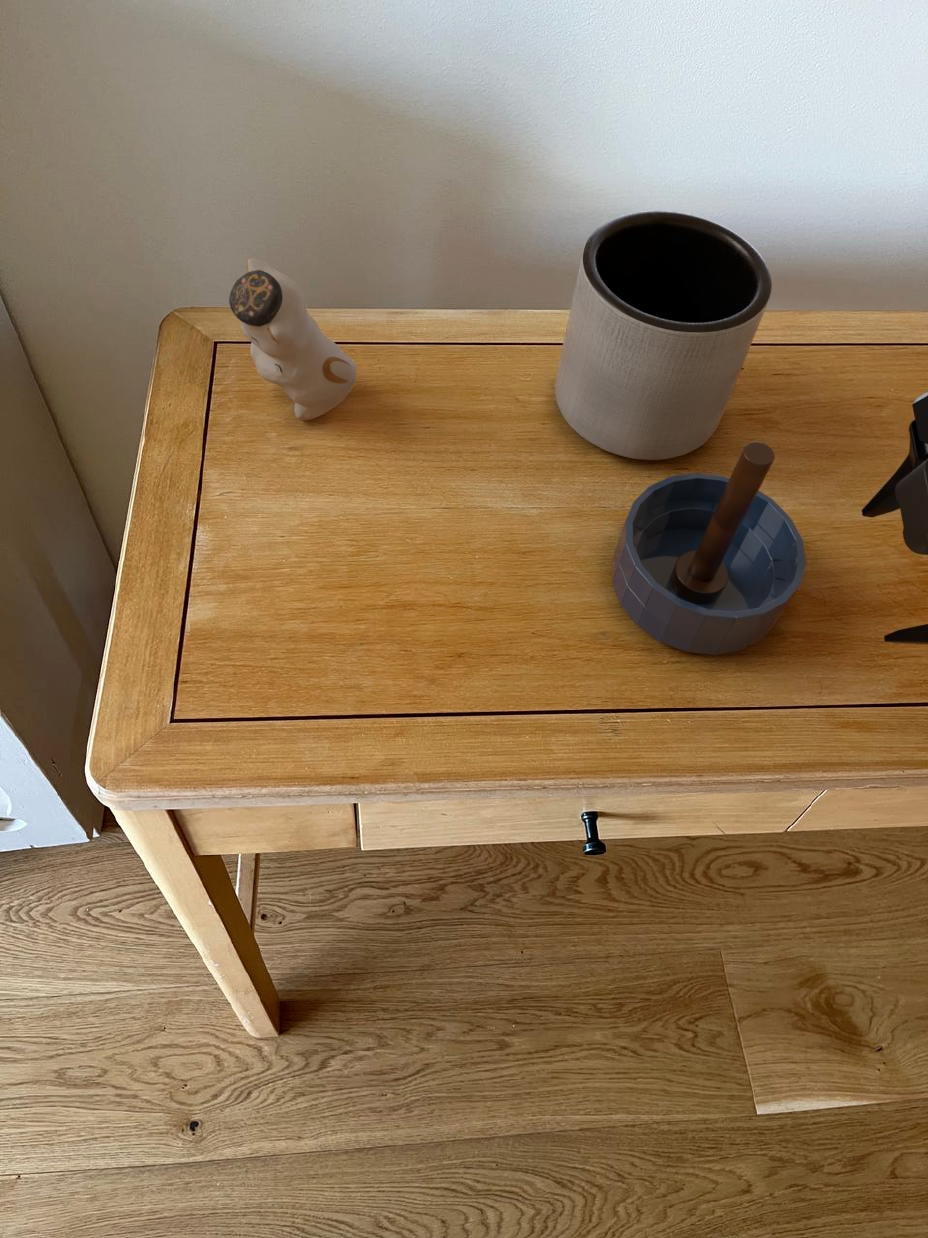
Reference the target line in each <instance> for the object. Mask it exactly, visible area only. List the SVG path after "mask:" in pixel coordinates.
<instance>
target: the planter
mask: <svg viewBox="0 0 928 1238" xmlns="http://www.w3.org/2000/svg"><path fill="white" fill-rule="evenodd" d="M574 286H575V287H574V291H573V296H572V300H571V305H570V309H569V315H568V320H567V324H566V328H565V332H564V337H563V342H562V346H561V351H560V355H559V360H558V365H557V369H556V374H555V382H554V383H555V385H554V395H555V400H556V404H557V407H558V410H559V411H560V414H561V415H562V417H563V418H564V420H565V421H566V423H567V424H568V425H569V427H571V428H572V429H573V431H575V432H576V433H577V434H578V435H579V436H581V437H582V438H583V439H584V440H585V441H587V442H589V443H590V444H592V445H594V446H595V447H598V448H600V449H601V450H604V451H606V452H608V453H610V454H613V455H617V456H621V457H625V458H628V459H634V460H643V461H645V460H646V461H647V460H648V461H659V460H667V459H674V458H678V457H681V456H685V455H687V454H689V453H692V452H694V451H695V450H697V449H699V448H700V447H701V446H703V445H704V444H705V443H707V442H708V441H709V439H711V437H712V436H713V435H714V434H715V432H716V430H717V428H718V427H719V425H720V423H721V421H722V418H723V417H724V414H725V411H726V409H727V407H728V404H729V403H730V399H731V396H732V394H733V392H734V389H735V386H736V383H737V382H738V379H739V376H740V373H741V371H742V368H743V365H744V364H745V361H746V358H747V356H748V353H749V351H750V348H751V346H752V343H753V340H754V338H755V335H756V333H757V330H758V328H759V326H760V323H761V321H762V318H763V316H764V313H765V312H766V308H767V306H768V304H769V302H770V299H771V296H772V292H773V281H772V276H771V272H770V270H769V267H768V265H767V263H766V261H765V259H764V257H762V255H761V254H760V252H759V251H758V250H757V249H756V248H755V247H754V246H753V245H752V244H751V243H750V242H749V241H747V240H746V239H745V238H744V237H742V236H741V235H740V234H738V233H736V232H735V231H734V230H732V229H730V228H728V227H726V226H724V225H722V224H720V223H718V222H716V221H714V220H710V219H708V218H704V217H701V216H698V215H694V214H690V213H685V212H679V211H672V210H644V211H636V212H630V213H626V214H623V215H620V216H617V217H614V218H612V219H610V220H608V221H606V222H604V223H603V224H601V225H600V226H599V227H598V228H596V229H595V230H593V232H592V233H591V234H590V236H589V237H588V239H587V240H586V241H585V244H584V246H583V249H582V253H581V258H580V263H579V268H578V272H577V277H576V281H575V285H574Z"/></svg>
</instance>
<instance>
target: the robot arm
mask: <svg viewBox="0 0 928 1238" xmlns="http://www.w3.org/2000/svg"><path fill="white" fill-rule="evenodd" d="M911 406H912V412H913V416H914V419H913V420H912V421H911V422H910V423H909V426H908V434H909V448H908V454H907V456H906V458H905V459H904V460H903V461H902V463H901V464H900V466H899V467H898V468H897V469H896V471H895V472H894V474H893V475H892V476H890V478H889V479H888V480H887V482H885V484H884V485H883V486H882V487H881V488H880V489H879V490H878V492H876V493H875V495H874V496H873V497H872V498H871V499H870V500H869V501H868V503H866V505H865V506H864V507H863V508H862V509H861V515H862V517H866V518H876V517H879V516H883V515H886V514H889V513H893V512H896V511H897V510H900V516H901V522H902V527H903V529H902V538H903V542H904V544H905V546H906V547H907V548H908V550H910V551H911V552H913V553H914V554H916V555H921V556H923V555H924V556H928V391H927V392H925V393H923V394H921V395H919V396H918V397H916V399H915V400H914V401H913V402H912V404H911ZM883 640H884V642H886V643H894V644H910V645H911V644H912V645H928V623H924V624H920V625H916V626H911V627H906V628H900V629H897V630H895V631H892V632H890V633H887V634H885V635H884V636H883Z"/></svg>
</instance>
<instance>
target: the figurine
mask: <svg viewBox="0 0 928 1238" xmlns="http://www.w3.org/2000/svg"><path fill="white" fill-rule="evenodd" d="M228 303H229V307H230V310H231V312H232V313H233V315H234V316H235V317H236V319H237V320H239V321H240V326H241V331H242V332H243V334H244V336H245V337H246V338H247V339H248V341H250V342H251V343H250V346H249V348H250V350H249V353H250V356H251V359H252V361H253V362H254V364H255V367H256V370H257V374H258V375H259V377H261V378H262V379H263V380H265V381H266V382H269V383H272V384H274V385H276V386H279V387H280V388H281V389H282V390H283V391H284V392H285V394H286V395H287V396H288V398H290V399H291V401H294V402H295V403H294V408H293V411H294V416H295V417H296V418H297V419H298V420H300V421H310V420H313V419H315V418H318V417H320V416H322V415H324V414H326V413H328V412H329V411H331V410H333V409H334V408H336V407H337V406H338V405H340V404H341V403H342V402H343V401H344V400H345V399H346V397H347V396H348V395H349V394H350V393H351V391H352V389H353V387H354V385H355V383H356V380H357V376H358V370H357V365H356V362H355V361H354V360H353V359H352V358H351V357H350V356H348V355H347V354H346V353H345V352H344V351H343V349H342V348H341V347H340V346H339V345H338V344H336V342H335V341H333V340H332V339H330V338H329V337H327V336H326V335H325V334H324V333H323V332H322V330H321V329H320V327H319V325H318V323H317V322H316V320H315V319H314V318H313V317H312V316H311V314H309V312H308V308H307V307H308V306H307V301H306V297H305V295H304V293H303V291H302V289H301V288H300V287H299V285H298V284H297V283H296V282H295V281H294V280H293V279H291V278H290V277H289V276H287V275H286V274H284V273H282V272H280V271H278V270H276V269H274V268H273V267H271V266H269V265H268V264H267V263H265V262H264V261H262V260H260V259H258V258H255V257H251V258H248V259H247V264H246V273H245V274H243V275H242V276H241V277H239V278H237V280H236V281H235V282H234V284H233V286H232V288H231V290H230V293H229V298H228Z"/></svg>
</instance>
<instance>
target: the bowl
mask: <svg viewBox="0 0 928 1238" xmlns="http://www.w3.org/2000/svg"><path fill="white" fill-rule="evenodd" d="M729 479H730V477H728V476H725V475H720V474H711V473H701V472H691V473H685V474H678V475H677V474H676V475H671V476H669V477H666V478H664V479H662V480H660V481H658V482H655V483H653V484H651V485H649V486H648V487H647V488H645V490H643V492H642V493H641V494H639V496H637V498H636V499H634V501H633V502H632V505H631V507H630V509H629V512H628V514H627V516H626V519H625V522H624V524H623V527H622V530H621V533H620V536H619V539H618V542H617V545H616V548H615V551H614V554H613V557H612V559H611V582H612V587H613V588H614V592H615V594H616V596H617V599H618V601H619V603H620V604H619V605H620V606H621V607H622V609H623V610H624V611H625V612H626V613H627V615H628V616H629V617H630V619H632V621H633V622H634V623H635V625H636V626H637V627H638V628H640V629H641V630H643V631H644V632H646V633H647V634H649V636H652V637H653V638H654V639H656V640H657V641H658V642H660V643H662V644H665V645H667V646H670V647H673V648H674V649H678V650H680V651H683V652H686V653H692V654H693V653H694V654H703V655H711V656H718V655H724V654H729V653H735V652H739V651H740V652H741V651H743V650H745V649H747V648H748V647H750V646H752V645H754V644H756V643H758V642H759V641H761V640H763V639H764V637H765V636H766V635H767V634H768V632H770V630H772V628H773V627H774V625H775V624H776V623H777V621H778V620H779V618H780V617H781V616H782V614H783V612H784V611H785V609H786V607H787V606H788V605H789V603H790V602H791V600H792V598H793V597H794V595H795V594H796V592H797V590H798V589H799V588H800V587H801V584H802V581H803V576H804V573H805V569H806V566H807V559H806V551H805V546H804V540H803V537H802V536H801V534H800V532H799V530H798V529H797V526H796V525H795V523H794V521H793V519H792V517H791V516H790V515H789V514H788V513H787V512H786V511H785V510H784V509H783V508H782V507H781V506H780V505H779V504H778V502H776V501H775V500H774V499H773V498H772V497H770V496H768V495H767V494H765V493H764V492H762V491H760V490H759V491H758V493H757V495H756V496H755V498H754V500H753V502H752V504H751V506H750V508H749V510H748V512H747V514H746V516H745V518H744V520H743V522H742V524H741V526H740V528H739V530H738V532H737V534H736V536H735V538H734V540H733V542H732V544H731V546H730V548H729V550H728V552H727V554H726V556H725V557H724V559H723V563H724V564H725V566H726V567H727V570H728V582H727V584H726V586H725V588H724V590H723V592H722V593H721V595H720V596H719V597H718V598H717V599H716V600H715V601H713V602H710V603H706V604H697V603H692V602H689V601H687V600H685V599H684V598H682V597H681V596H680V595H678V594H677V592H676V591H675V590H674V588H673V586H672V583H671V573H672V571H673V568H674V566H675V564H676V562H677V560H678V558H679V557H680V556H681V555H682V554H684V553H686V552H688V551H692V550H697V549H698V546H699V544H700V542H701V540H702V538H703V536H704V533H705V531H706V529H707V527H708V525H709V523H710V520H711V518H712V516H713V514H714V512H715V510H716V507H717V505H718V503H719V501H720V499H721V497H722V494H723V492H724V490H725V488H726V486H727V484H728V481H729Z"/></svg>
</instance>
